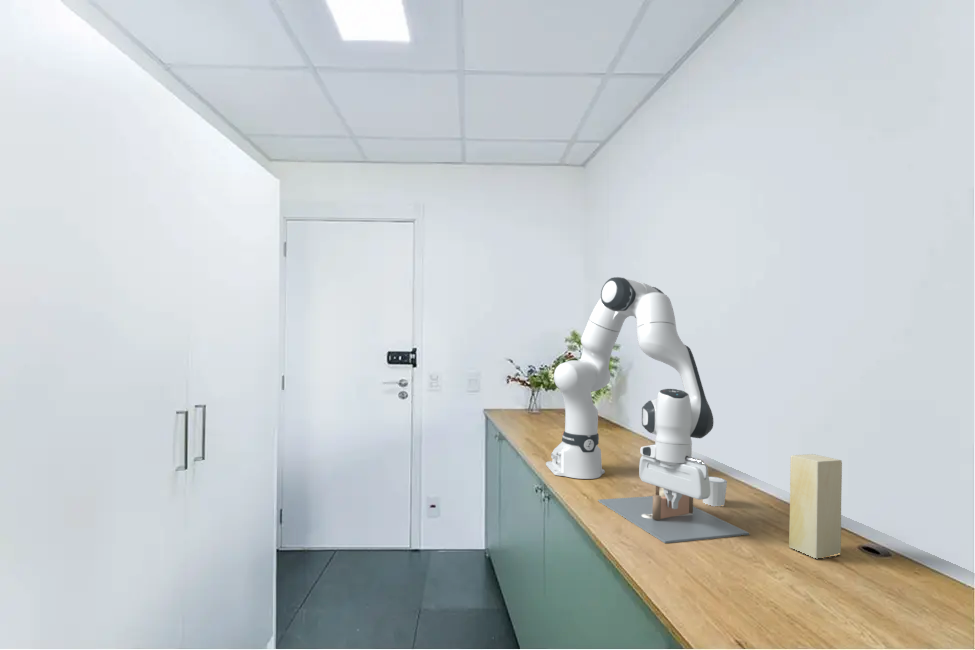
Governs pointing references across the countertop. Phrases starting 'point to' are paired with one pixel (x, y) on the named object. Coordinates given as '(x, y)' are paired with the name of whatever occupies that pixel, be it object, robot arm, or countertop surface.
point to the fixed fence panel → (660, 491)
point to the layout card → (672, 521)
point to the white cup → (716, 492)
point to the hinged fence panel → (664, 511)
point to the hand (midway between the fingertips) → (672, 507)
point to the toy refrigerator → (815, 505)
